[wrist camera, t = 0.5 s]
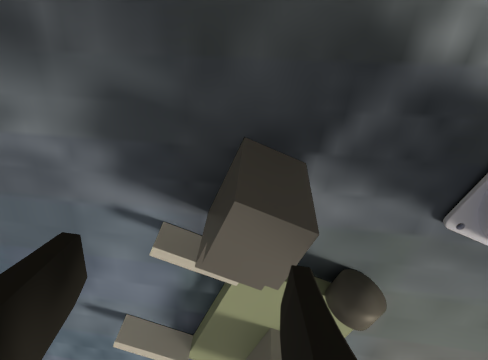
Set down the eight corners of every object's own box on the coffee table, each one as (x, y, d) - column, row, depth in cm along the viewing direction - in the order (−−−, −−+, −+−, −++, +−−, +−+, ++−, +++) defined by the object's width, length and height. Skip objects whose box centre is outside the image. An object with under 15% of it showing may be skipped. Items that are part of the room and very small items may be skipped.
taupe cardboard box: (305, 163, 20) (319, 234, 15) (262, 232, 23) (260, 313, 18) (244, 136, 20) (234, 201, 14) (208, 211, 23) (188, 288, 17)
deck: (380, 279, 25) (410, 364, 20) (281, 382, 33) (284, 463, 27) (172, 200, 22) (141, 272, 17) (119, 332, 30) (86, 410, 25)
